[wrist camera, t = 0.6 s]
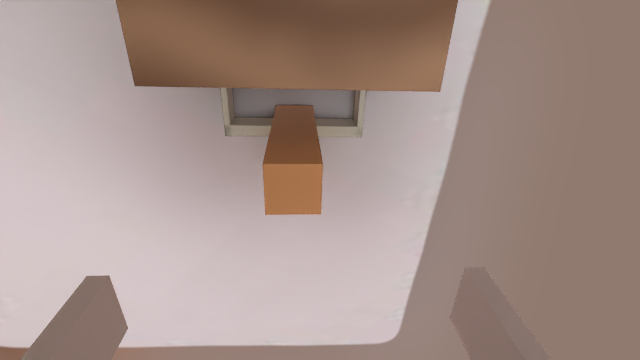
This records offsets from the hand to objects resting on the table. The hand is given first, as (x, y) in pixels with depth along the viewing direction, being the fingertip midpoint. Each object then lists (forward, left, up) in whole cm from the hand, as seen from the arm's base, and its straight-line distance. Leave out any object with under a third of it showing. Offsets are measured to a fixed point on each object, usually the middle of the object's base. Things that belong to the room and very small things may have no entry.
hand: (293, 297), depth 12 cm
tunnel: (-11, 0, -22) cm, 25 cm away
